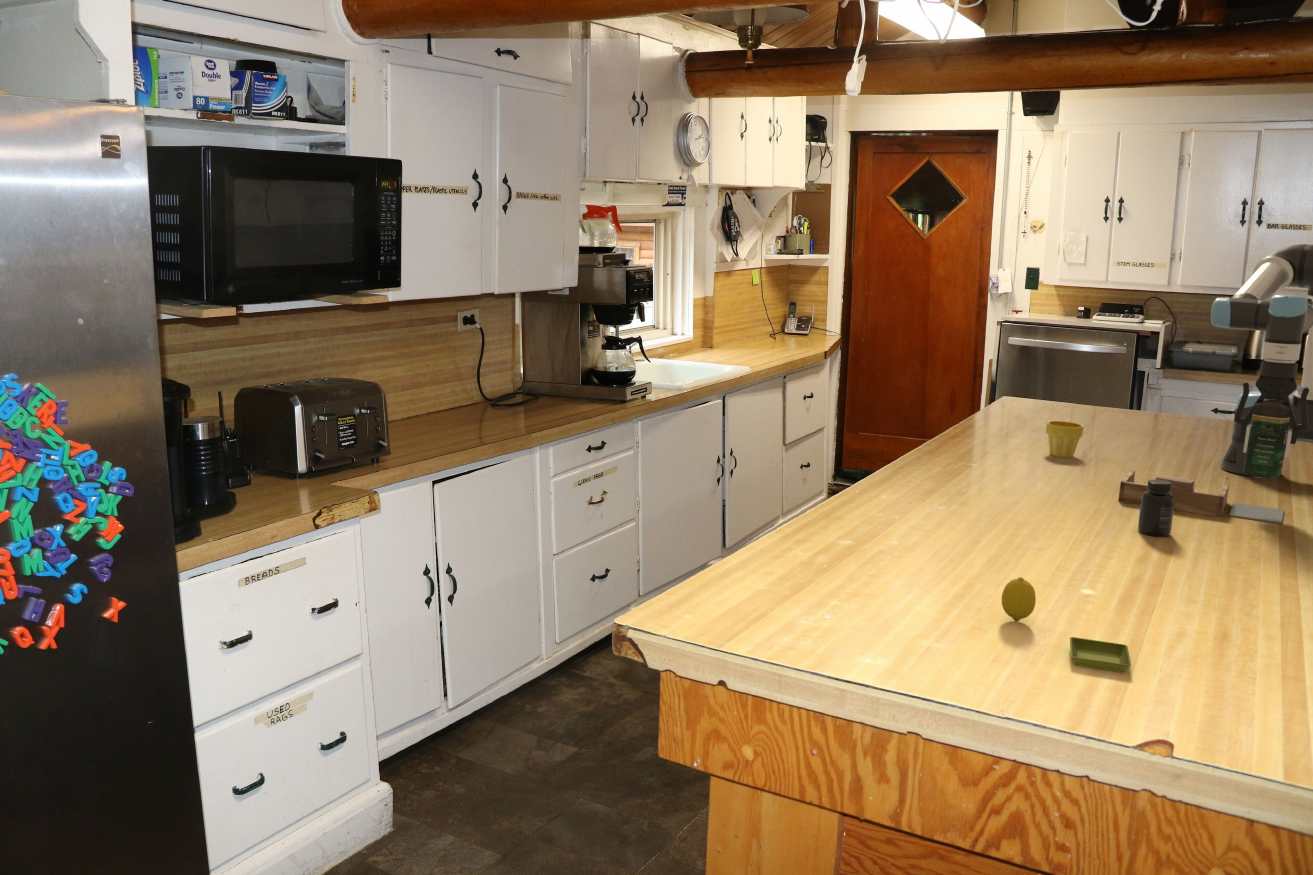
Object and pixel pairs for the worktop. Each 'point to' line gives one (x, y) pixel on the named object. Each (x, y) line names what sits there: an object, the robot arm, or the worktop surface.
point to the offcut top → (1178, 482)
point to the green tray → (1099, 654)
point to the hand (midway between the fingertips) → (1265, 454)
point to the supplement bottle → (1156, 509)
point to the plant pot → (1063, 437)
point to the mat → (1257, 513)
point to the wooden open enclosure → (1177, 497)
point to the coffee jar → (1267, 439)
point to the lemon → (1018, 599)
